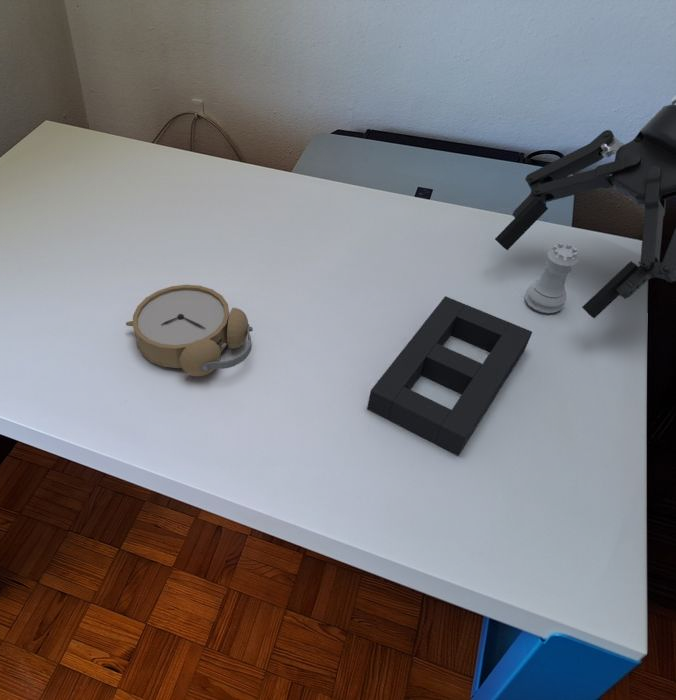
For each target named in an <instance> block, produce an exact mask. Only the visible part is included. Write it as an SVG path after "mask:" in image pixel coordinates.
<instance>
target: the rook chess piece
mask: <svg viewBox="0 0 676 700" xmlns="http://www.w3.org/2000/svg"><path fill="white" fill-rule="evenodd" d="M547 258H548V260H547V261H546V262H545V269H544V271H543V273H541V276H540V277H539V278H538V279H536V280H535V281H534V282H533V283H531V284H530V285H529V287H528V288H527V291H526V293H525V294H524V300H525V301H526V304H527V305H528V307H530V308H531V309H532V310H534V311H536V312H538V313H541V314H554V313H556V312H559V311H561V310H562V309H563V308H564V307H565V302H566V301H567V292H566V287H565V285H566V281H567V277H568V275H569V274H570V273H571V272H572V266H574V265H576V264H577V263H578V262H579V257H578V249H577V248H576V247H573V248H572V244H570V243H566V246H564V243H563V242H559V243H558V244H557V245H556V244H555V245H554V246H553V248H551V249H549V250H548V251H547Z"/></svg>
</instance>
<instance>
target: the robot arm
mask: <svg viewBox="0 0 676 700" xmlns="http://www.w3.org/2000/svg"><path fill="white" fill-rule="evenodd" d="M613 155H615V157H614V161H610V162H608V163H603V164H600V165H598V166H596V167H595V168H594V169H590V170H587V171H583V172H580V171H582V170H584V169H586V168H588V167H590V166H592V165H594V164H596V163H599V162H601V161H602V160H603V159H604V158H608V159H609V158H611V157H612V156H613ZM578 172H579V173H578ZM525 182H526V183H527V185H528V187H529V188H530V193H529V195H528V196H527V197H526V198H525V199H524V200H523V201H522V202H520V204H519V205H518V206H517V207H516V208H515V209H514V210H513V212H512V217H513V220H511V221H510V223H508V225H506V226H505V228H504V229H503V230H502V231H501V232H500V233H499V234H498V235H497V236H496V237H495V238H494V240H495V241H496V242H497V243H498V244H499V245H500V246H501V247H502V248H503V249H505V250H506V251H508V250H510V248H511V247H512V246H513V245H515V243H516V242H517V241H518V240H520V238H521V237H522V236H523V235H524V234H526V232H527V231H528V230H529V229H530V228H531V227H532V226H533V225H534V224H536V222H537V221H538V220H539V219H540V218H541V217H542V216H543V215H544V214H545V213H546V212H547V211H548V209H549V207H548V206H547V203H548V202H553V201H556V200H560V199H565V198H567V197H572V196H575V195H579V194H582V193H587V192H591V191H595V190H598V189H611V188H615V190H616V192H617V193H619V194H620V195H622V196H626V197H629V198H630V199H631V200H632V201H633V203H635V204H636V205H638V206H641V205H644V217H643V218H644V219H643V227H642V228H643V229H642V238H641V239H642V240H641V249H640V250H641V251H640V260H639V261H638V265H637V264H636V263H634V262H633V261H632V260H630V261H629V262H628V263H627V264H626V265H625V266H624V267H622V269H621V270H619V271H618V272H617V274H615V275H614V276H613V277H612V278H611V279H610V280H609V281H608V282H607V283H606V284H605V285H604V286H603V287H601V288H600V289H599V290H598V291H597V292H596V293H595V294H594V295H593V296H592V297H590V299H589V300H588V301H587V302H585V303H584V304H583V306H582V309H583V310H584V311H585V312H586V313H587V315H589V316H590V317H591V318H592V319H596V318H597V317H598V316H599V315H600V314H601V313H602V312H603V311H604V310H606V309H607V308H608V306H610V305H611V304H612V303H613V302H614V301H615V300H616V299H617V298H618V297H619V296H620V297H621V298H622V299H624V300H626V299H628V298H631V296H633V295H634V294H635V293H636V292H637V291H638V290H639V289H640V288H641V287H643V286H644V285H645V284H646V283H647V282H648V281H649V280H651V279H653V278H656V279H657V278H658V279H660V280H665V281H666V282H668V283H673V282H676V227H675V228H674V231H673V233H672V236H671V239H670V242H669V244H668V247H667V249H666V251H665V254H664V257H663V259H662V261H661V262H660V260H661V259H660V258H661V246H662V237H663V236H662V235H663V225H664V217H665V215H666V202H667V199H670V198H675V197H676V94H675V95H674V96H672V98H671V101H670V104H668V105H663V106H662V108H661V109H660V110H658V111H657V113H656V114H655V115H654V116H653V117H652V118H650V120H649V121H648V122H646V124H645V125H643V127H641V129H640V131H639V132H638V133H637V135H636V136H635V137H634V139H632V140H630V141H629V142H627V143H623V142H622V141H620V140H619V139H618V138H617V137H615V135H614V133H613V131H612V130H610V129H606V130H604V131H602V132H601V133H600V134H599V135H598V136H597V137H596V138H594V139H593V140H592V141H590V142H589V143H588V144H586V145H583V146H581V147H579V148H578V149H575V150H574V151H572V152H570V153H568V154H565V155H563V156H561V157H560V158H558V159H556V160H554V161H551V162H550V163H548V164H546V165H544V166H542V167H540V168H538V169H536V170H534V171H532V172H530V173H528V174H527V175H526V176H525Z"/></svg>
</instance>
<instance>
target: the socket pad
mask: <svg viewBox="0 0 676 700" xmlns="http://www.w3.org/2000/svg"><path fill="white" fill-rule="evenodd" d="M532 334H533V331H532V330H529V329H527V328H525V327H523V326H520V325H517V324H515V323H513V322H510V321H507V320H505V319H502V318H500V317H497V316H496V315H493V314H491V313H487V312H485V311H483V310H482V309H481V310H480V309H478V308H476V307H473V306H472V305H468V304H466V303H463V302H461V301H458V300H456V299H454V298H451V297H449V296H446V295H445V296H443V298H442V299H441V301H440V302H439V304H437V306H436V307H435V308H434V310H433V311H432V312H431V314H430V315H429V316H428V317H427V318H426V320H425V321H424V322H423V323H422V324H421V326H420V328H419V329H418V330H417V331H416V332H415V334H414V335H413V336H412V337H411V339H410V340H409V341H408V342H407V344H406V345H405V346H404V348H403V349H402V350H401V351H400V352H399V354H398V355H397V356H396V357H395V359H394V360H393V361H392V363H391V364H390V365H389V367H388V368H387V369H386V370H385V371H384V373H383V374H382V376H381V377H380V378H379V379H378V380H377V382H376V383H375V384H374V386H373V387H372V388H371V389H370V392H369V396H368V401H367V406H366V409H367V410H369V411H371V412H373V413H374V414H377V415H378V416H380V417H381V418H384V419H386V420H388V421H390V422H391V423H394V424H396V425H398V426H399V427H402V428H404V429H405V430H407V431H409V432H411V433H413V434H415V435H417V436H419V437H421V438H423V439H424V440H427V441H428V442H431V443H433V444H434V445H436V446H437V447H440V448H442V449H444V450H446V451H448V452H450V453H452V454H454V455H456V456H460V454H461V453H462V451H463V450H464V448H465V446H466V445H467V443H468V441H469V440H470V439H471V437H472V435H473V433H474V432H475V431H476V429H477V427H478V426H479V424H480V422H481V421H482V419H483V418H484V416H485V415H486V413H487V411H488V410H489V408H490V407H491V405H492V404H493V402H494V400H495V398H496V397H497V396H498V394H499V392H500V391H501V389H502V387H503V386H504V384H505V382H506V381H507V379H508V378H509V376H510V375H511V373H512V371H513V370H514V369H515V367H516V365H517V364H518V362H519V361H520V359H521V357H522V355H523V354H524V352H525V351H526V349H527V347H528V343H529V342H530V339H531V336H532ZM451 336H453V337H455V338H457V339H460V340H462V341H464V342H466V343H468V344H470V345H473V346H475V347H477V348H480V349H482V350H484V351H487V352H489V353H488V355H487V356H486V358H485V359H484V361H483V362H480V361H478V360H475V359H473V358H471V357H468V356H466V355H464V354H462V353H459V352H457V351H455V350H453V349H450V348H448V347H446V346H444V345H445V344H446V342H447V340H449V338H450V337H451ZM421 376H422V377H425V378H426V379H429V380H430V381H433V382H436V383H437V384H439V385H442V386H444V387H446V388H448V389H450V390H452V391H454V392H456V393H459V394H461V396H460V397H459V398H458V400H457V401H456V403H455V404H454V406H453V407H452V408H449V407H447V406H445V405H443V404H440V402H439V403H438V402H437V401H434V400H432V399H431V398H428V397H426V396H424V395H422V394H420V393H419V392H416V391H414V390H412V388H413V387H414V385H415V384H416V383H417V381H418V380H419V379H420V377H421Z"/></svg>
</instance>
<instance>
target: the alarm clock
mask: <svg viewBox="0 0 676 700" xmlns="http://www.w3.org/2000/svg"><path fill="white" fill-rule="evenodd" d="M125 325H126V326H128V327H132V328H133V331H134V334H135V340H136V345H137V348H138V349H139V352H140V354H141V355H142V356H143V357H144V358H145V359H147V360H148V361H149V362H151V363H153V364H155V365H158V366H160V367H165V368H173V369H182V371H184V372H185V373H186V374H187V375H189V376H192V377H204V376H207V375H209V374H211V373H212V372H213V371H215V370H223V369H229V368H232V367H236V366H237V365H240V364H241V363H242V362H244V361H245V360H246V359H247V358H248V356H250V353H251V352H252V347H253V345H252V336H251V334H250V333H251V332H253V329H254V328H253V327H252V326H250V323H249V320H248V317H247V315H246V313H245V312H244V311H243V310H242V309H240V308H237V307H232V308H231V309H230V307H229V303H228V302H227V301H226V299H225V298H224V296H223V295H222V294H220V293H218V292H217V291H216V290H214V289H213V288H209V287H206V286H202V285H199V284H198V285H197V284H179V285H172V286H169V287H166V288H162V289H159V290H156V291H155V292H153V293H151V294H150V295H148V296H146V297H145V298H144V299H143V300H142V301H141V302H140V303H139V304H137V306H136V308H135V311H134V312H133V314H132V320H130V321H126V322H125ZM246 340H248V344H247V345H246V347H245V349H244V350H243V351H242V352H241V353H239V354H238V355H237V356H235V357H233V358H231V359H227V360H221V356H222V355H221V353H222V352H223V351H224V350H225V348H226V347H228V349H233V350H234V349H238V348H240V347H242V345H244V343H245V342H246Z"/></svg>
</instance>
